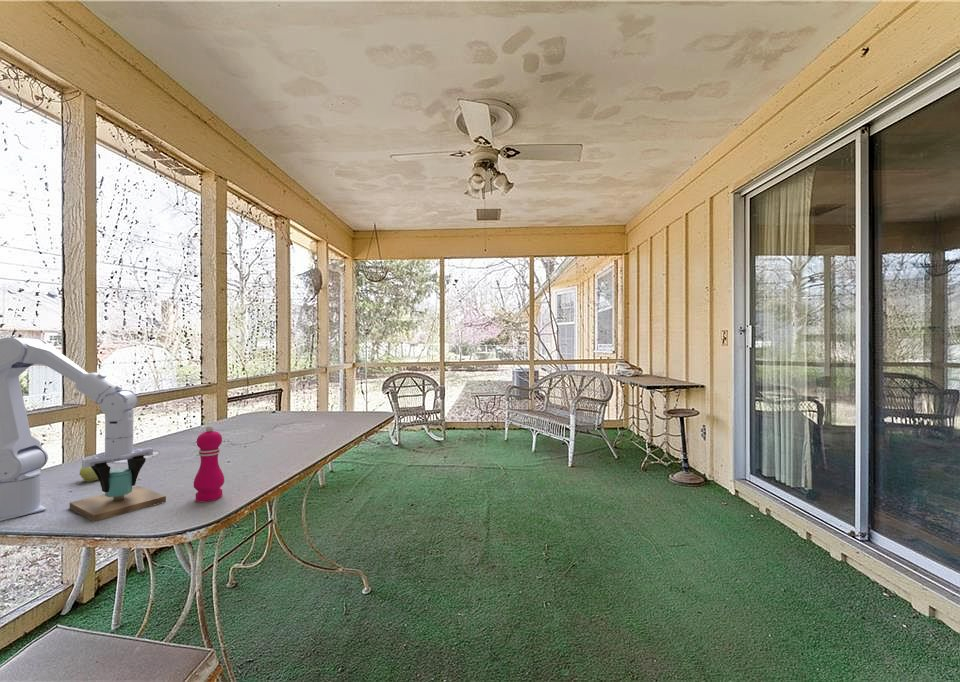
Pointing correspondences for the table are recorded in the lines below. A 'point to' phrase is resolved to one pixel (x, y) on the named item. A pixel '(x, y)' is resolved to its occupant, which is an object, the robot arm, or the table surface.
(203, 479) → the pepper mill
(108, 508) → the peg board
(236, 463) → the table surface
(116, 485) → the cap
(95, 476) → the lemon
